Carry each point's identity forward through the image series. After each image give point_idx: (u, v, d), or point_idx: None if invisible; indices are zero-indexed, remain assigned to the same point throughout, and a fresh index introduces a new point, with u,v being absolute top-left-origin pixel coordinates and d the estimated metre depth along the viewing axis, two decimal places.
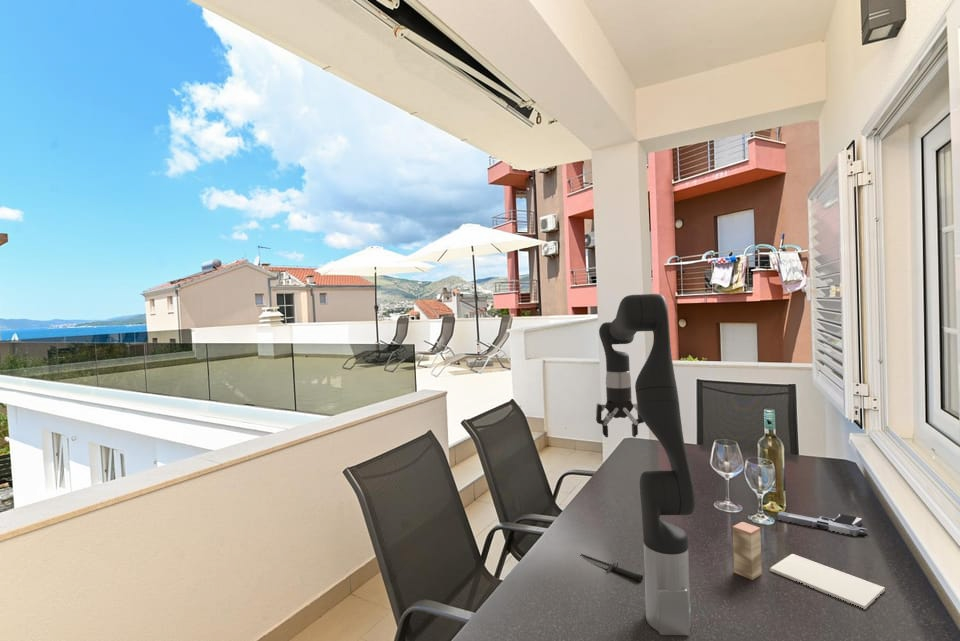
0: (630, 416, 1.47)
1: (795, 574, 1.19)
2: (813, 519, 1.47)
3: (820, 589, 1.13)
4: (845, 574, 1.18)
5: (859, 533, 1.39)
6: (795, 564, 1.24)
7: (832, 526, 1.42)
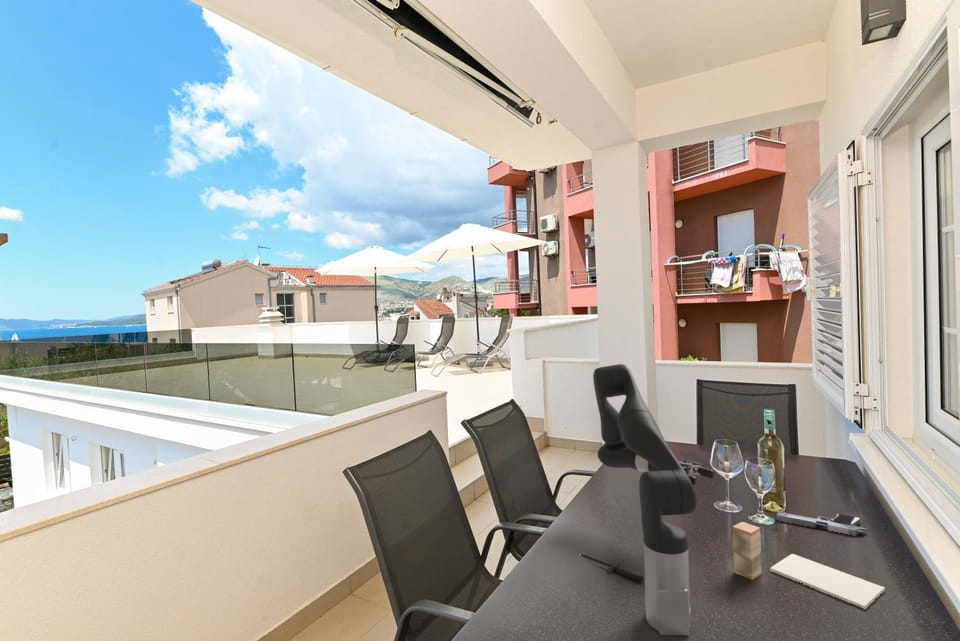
0: (688, 463, 1.38)
1: (795, 574, 1.19)
2: (812, 519, 1.46)
3: (820, 589, 1.13)
4: (845, 574, 1.18)
5: (858, 533, 1.39)
6: (795, 564, 1.24)
7: (831, 526, 1.42)
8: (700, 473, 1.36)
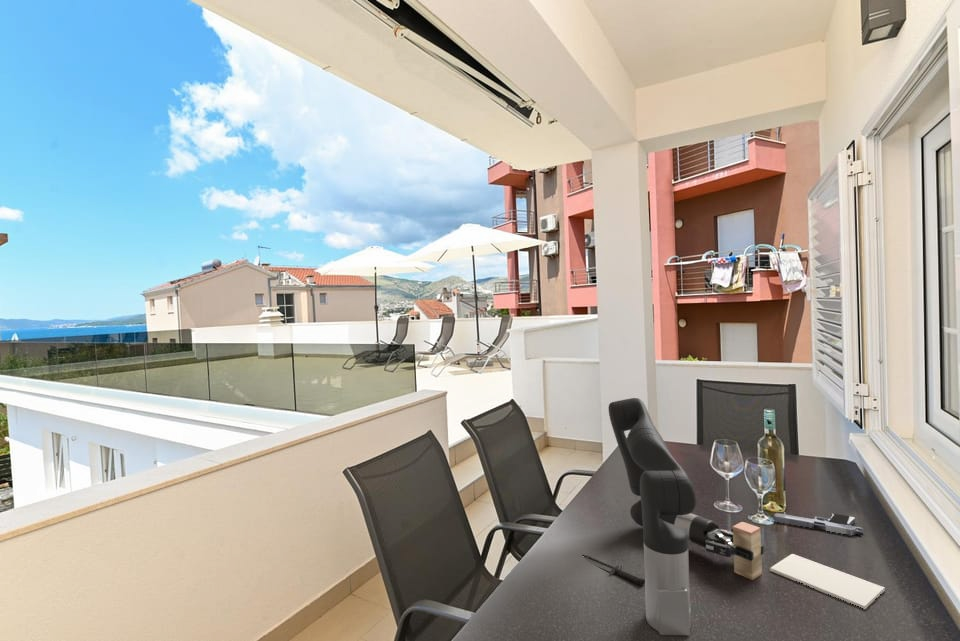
0: None
1: (795, 574, 1.19)
2: (809, 520, 1.46)
3: (820, 589, 1.13)
4: (845, 574, 1.18)
5: (855, 532, 1.39)
6: (795, 564, 1.24)
7: (829, 526, 1.42)
8: None
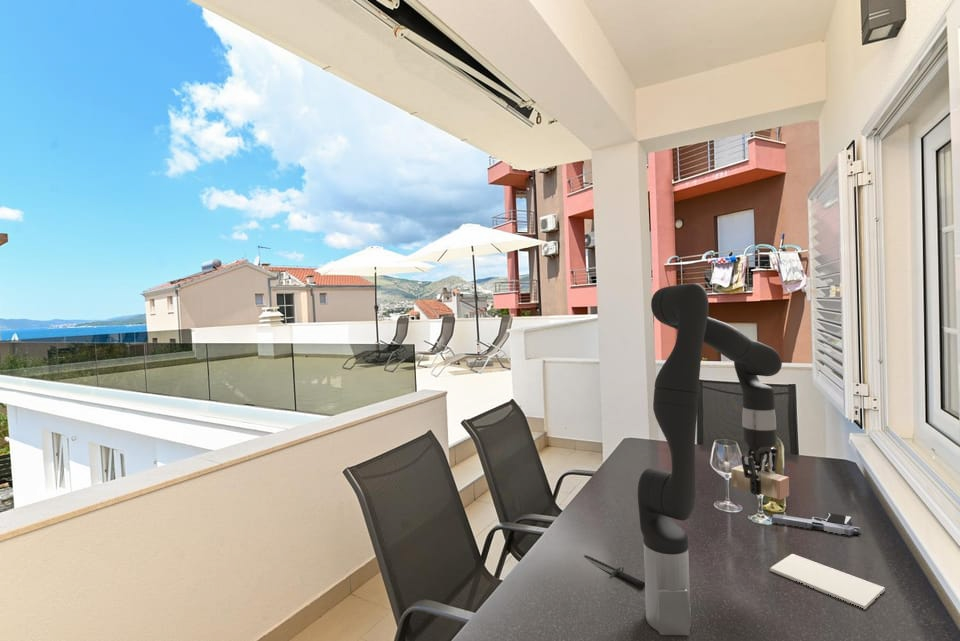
0: (771, 464, 1.21)
1: (795, 574, 1.19)
2: (807, 520, 1.46)
3: (820, 589, 1.13)
4: (845, 574, 1.18)
5: (853, 532, 1.40)
6: (795, 564, 1.24)
7: (827, 527, 1.42)
8: None
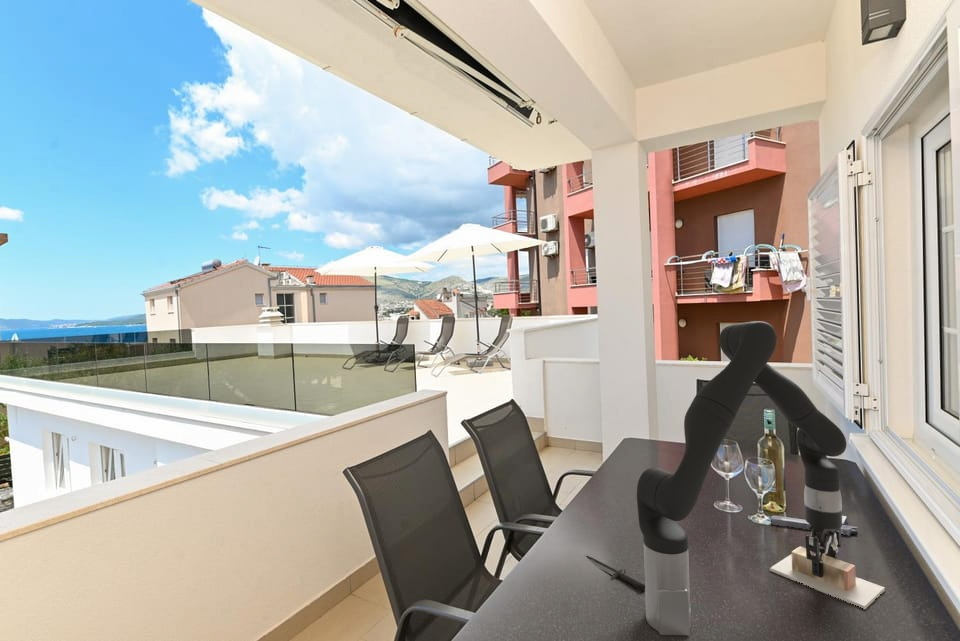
0: (836, 543, 1.17)
1: (795, 574, 1.19)
2: None
3: (820, 589, 1.13)
4: None
5: (851, 532, 1.40)
6: None
7: None
8: None
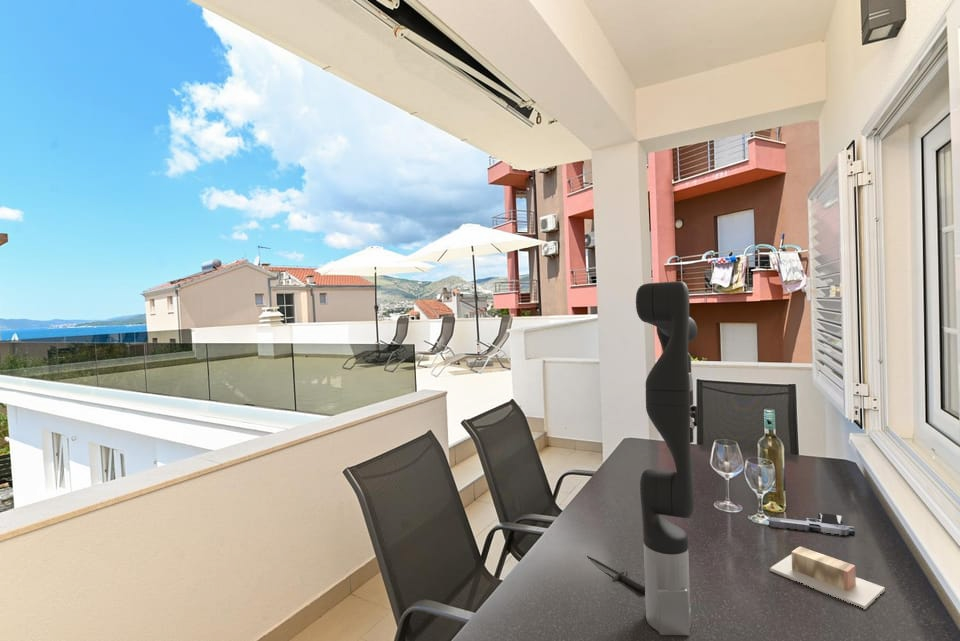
0: (691, 420, 1.35)
1: (795, 574, 1.19)
2: (804, 522, 1.45)
3: (820, 589, 1.13)
4: None
5: (849, 532, 1.40)
6: None
7: (824, 528, 1.41)
8: None
